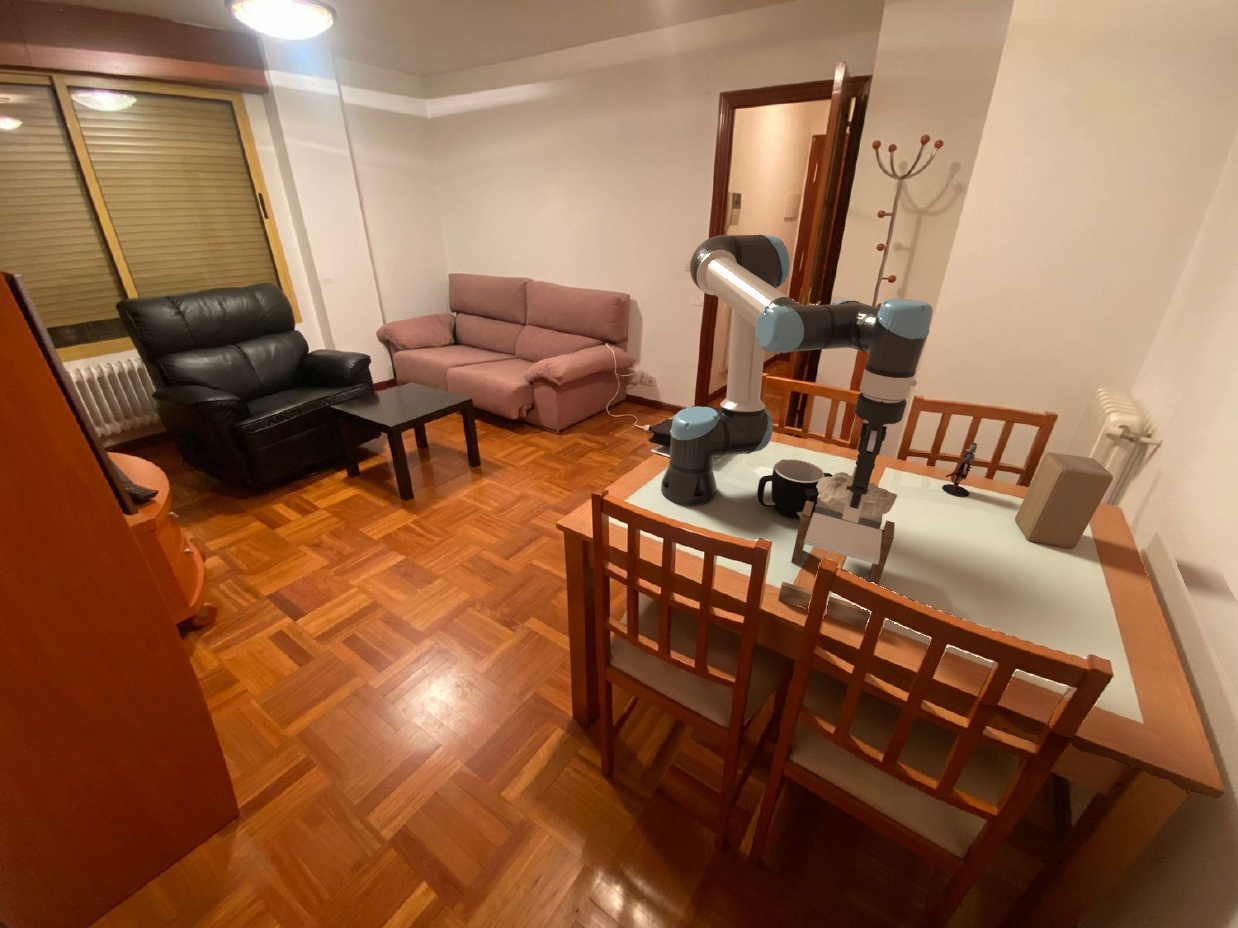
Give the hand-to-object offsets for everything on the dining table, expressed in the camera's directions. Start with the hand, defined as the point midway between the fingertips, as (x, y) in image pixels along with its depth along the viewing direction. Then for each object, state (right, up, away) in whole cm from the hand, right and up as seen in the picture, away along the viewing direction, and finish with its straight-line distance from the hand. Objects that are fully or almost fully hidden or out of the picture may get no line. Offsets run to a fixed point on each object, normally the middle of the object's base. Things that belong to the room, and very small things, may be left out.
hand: (852, 508), depth 95 cm
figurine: (+50, +1, +46) cm, 68 cm away
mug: (0, -4, +36) cm, 36 cm away
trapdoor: (+2, -7, +9) cm, 12 cm away
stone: (0, -1, +1) cm, 1 cm away
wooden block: (+60, -9, +28) cm, 66 cm away
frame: (0, -17, +10) cm, 20 cm away
